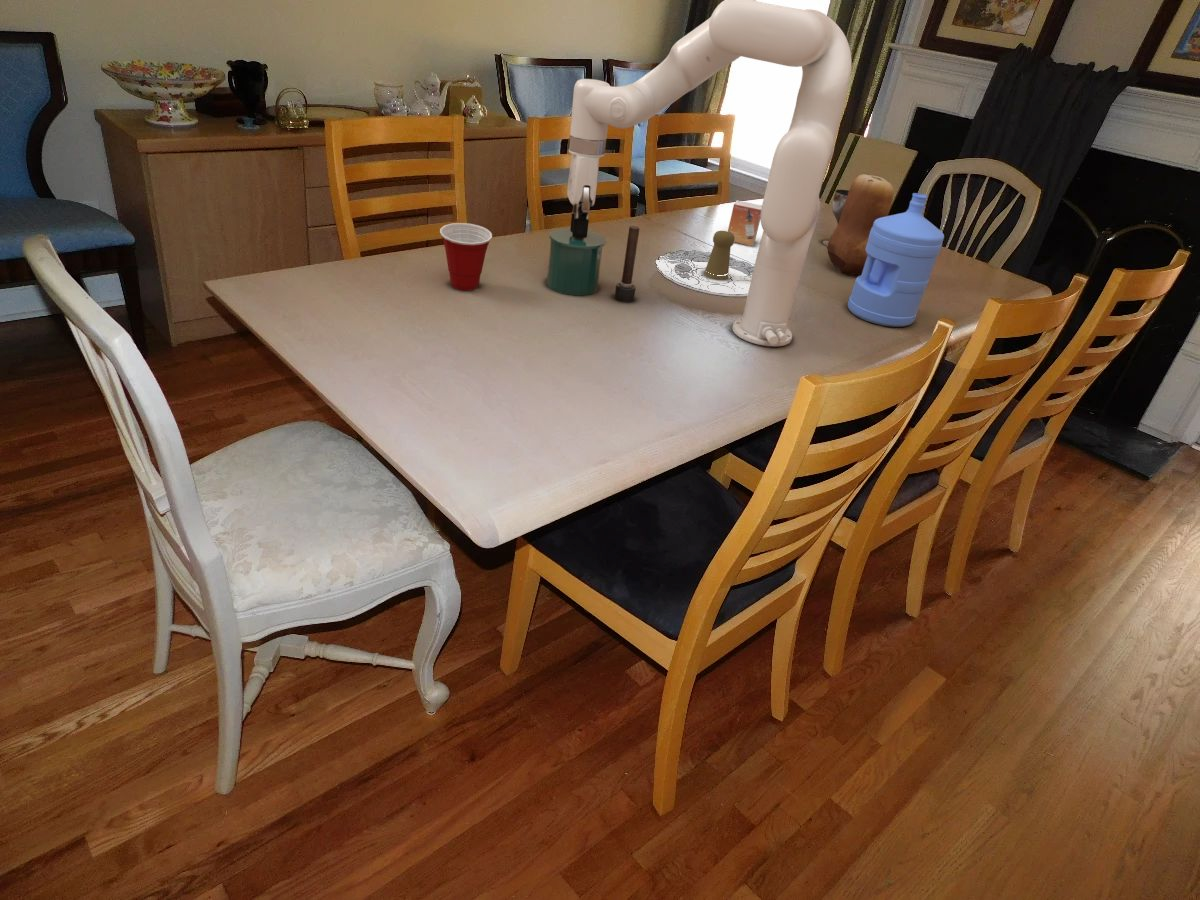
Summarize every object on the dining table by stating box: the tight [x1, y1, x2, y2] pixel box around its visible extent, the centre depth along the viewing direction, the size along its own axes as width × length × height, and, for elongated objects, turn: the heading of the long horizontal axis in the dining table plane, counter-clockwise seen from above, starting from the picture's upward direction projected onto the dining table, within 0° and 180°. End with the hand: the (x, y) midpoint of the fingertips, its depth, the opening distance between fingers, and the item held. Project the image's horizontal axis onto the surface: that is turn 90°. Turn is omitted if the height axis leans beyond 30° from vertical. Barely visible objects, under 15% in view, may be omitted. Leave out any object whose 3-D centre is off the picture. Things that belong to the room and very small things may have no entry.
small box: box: [727, 199, 762, 247], centre depth 216 cm, size 8×6×10 cm
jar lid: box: [549, 213, 607, 249], centre depth 166 cm, size 12×12×6 cm
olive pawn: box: [703, 230, 735, 281], centre depth 188 cm, size 6×6×11 cm
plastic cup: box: [439, 222, 493, 291], centre depth 162 cm, size 11×11×12 cm
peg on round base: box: [614, 225, 641, 303], centre depth 166 cm, size 4×4×16 cm
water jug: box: [847, 192, 945, 328], centre depth 174 cm, size 16×16×28 cm
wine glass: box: [822, 189, 850, 246], centre depth 224 cm, size 8×8×15 cm
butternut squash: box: [826, 173, 895, 276], centre depth 201 cm, size 14×13×25 cm
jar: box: [546, 239, 604, 296], centre depth 171 cm, size 11×11×10 cm
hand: (578, 233), depth 167 cm, fingers closed on jar lid, 2 cm apart
